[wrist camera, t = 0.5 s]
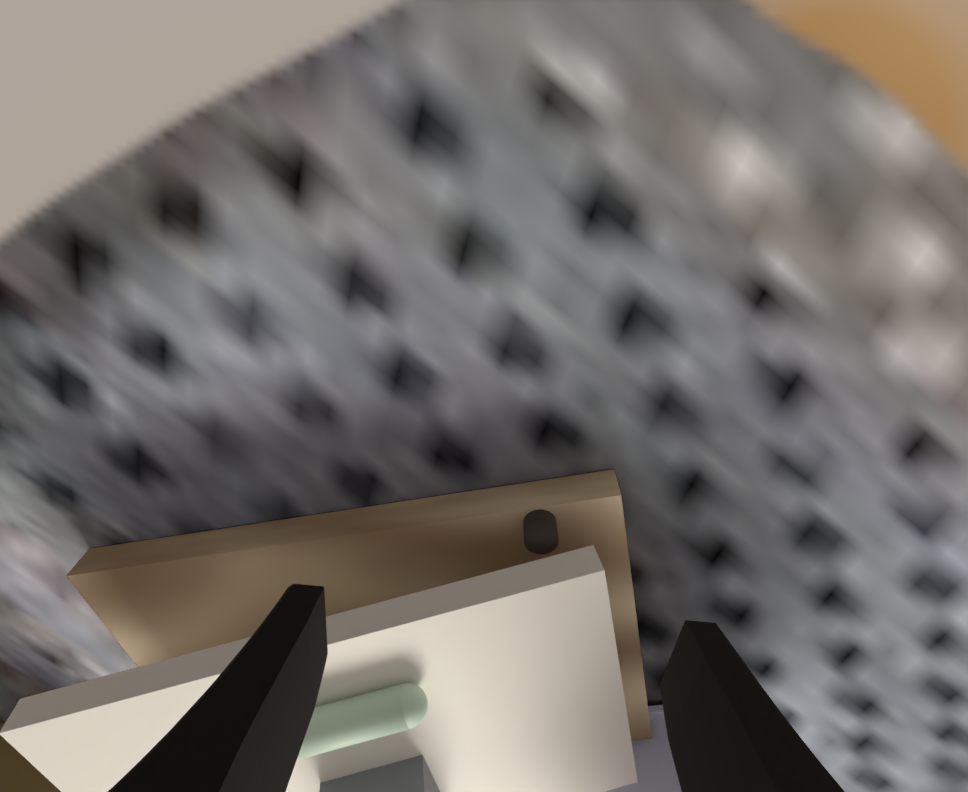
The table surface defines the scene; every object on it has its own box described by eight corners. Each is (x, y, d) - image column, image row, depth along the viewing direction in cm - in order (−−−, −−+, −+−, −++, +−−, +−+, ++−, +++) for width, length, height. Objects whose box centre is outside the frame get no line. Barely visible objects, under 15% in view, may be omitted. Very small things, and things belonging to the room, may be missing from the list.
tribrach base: (645, 707, 29) (664, 793, 25) (236, 747, 32) (205, 829, 28) (614, 469, 22) (634, 544, 18) (89, 548, 24) (22, 626, 21)
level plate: (627, 754, 26) (668, 868, 22) (194, 874, 26) (160, 1012, 22) (593, 544, 20) (641, 653, 16) (20, 698, 20) (-72, 848, 16)
